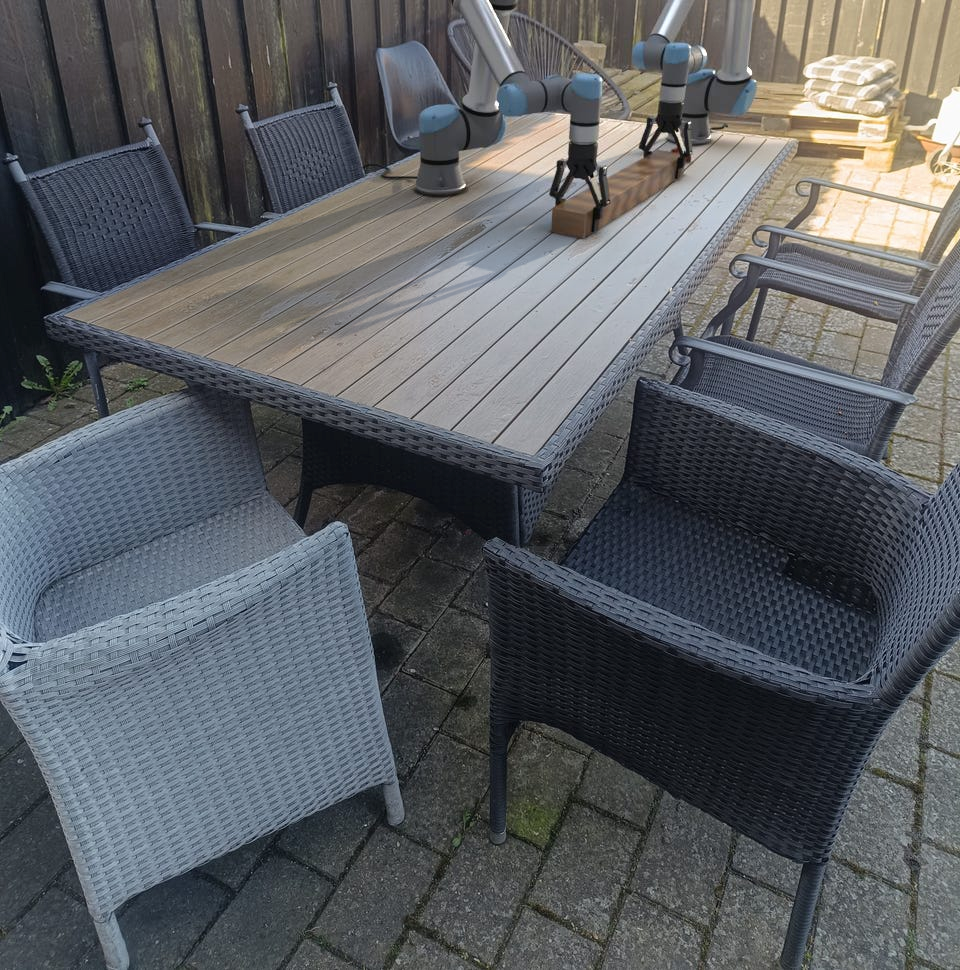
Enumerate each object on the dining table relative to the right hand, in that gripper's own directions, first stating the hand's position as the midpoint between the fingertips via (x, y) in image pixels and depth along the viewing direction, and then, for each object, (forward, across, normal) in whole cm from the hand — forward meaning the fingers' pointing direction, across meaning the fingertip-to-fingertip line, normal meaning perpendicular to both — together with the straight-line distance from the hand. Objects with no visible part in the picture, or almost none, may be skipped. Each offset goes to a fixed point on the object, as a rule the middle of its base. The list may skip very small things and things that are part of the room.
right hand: (662, 175), depth 269 cm
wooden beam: (0, 0, +29) cm, 29 cm away
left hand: (0, 0, +59) cm, 59 cm away
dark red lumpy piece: (0, +3, -21) cm, 21 cm away
